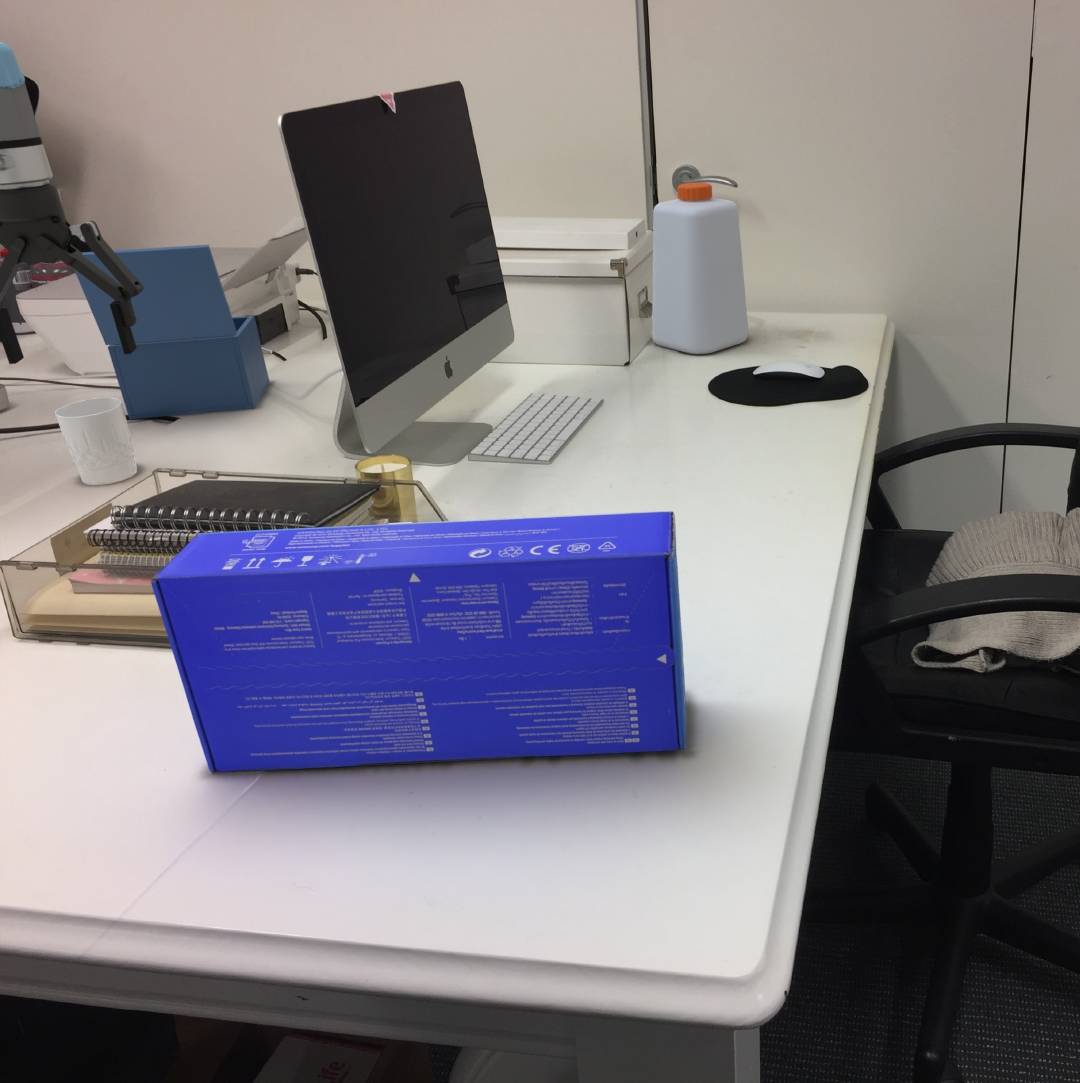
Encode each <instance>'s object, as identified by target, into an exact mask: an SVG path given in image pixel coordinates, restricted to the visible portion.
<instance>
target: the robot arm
mask: <svg viewBox="0 0 1080 1083" xmlns="http://www.w3.org/2000/svg"><path fill="white" fill-rule="evenodd" d="M53 177H54V174H53V171H52V167H51V165H50V162H49V159H48V156H47V152H46V150H45V145H44V143H43V140H42V137H41V134H40V130H39V126H38V123H37V120H36V115H35V113H34V109H33V106H32V103H31V99H30V95H29V93H28V89H27V85H26V78H25V76H24V74H23V72H22V70H21V68H20V65H19V63H18V60H17V57H16V54H15V51H14V50H13V49H12V47H11V46H10V45H8V44H7V43H5V42H0V245H1V246H2V247H3V248H5V250H7V252H6V254H5V256H4V258H3V260H2V263H1V266H0V304H1V302H2V300H3V299H4V297H5V295H6V293H7V292H8V289H9V288H10V286H11V284H12V283H13V281H14V279H15V277H16V275H17V273H18V271H19V270H20V268H21V267H22V265H23V264H26V265H27V266H33V265H38V264H42V263H43V264H47V265H48V264H50V265H51V264H56V263H58V262H62V263H63V264H65V265H66V266H69V267H71V268H72V269H73V270H74V269H75V270H76V271H78V272H79V273H80V274H82V275H83V276H84V277H85V278H87V279H88V280H89V281H91V282H92V283H93V284H95V285H96V286H97V287H98V288H100V289H101V290H102V291H104V292H105V293H106V294H108V295H109V296H110V297H112V298H113V299H114V300H115V301H113V302H112V303H111V304H110V308H111V311H112V314H113V318H114V321H115V324H116V328H117V331H118V334H119V338H120V341H121V344H122V348H123V351H124V354H131V353H132V352H133V351H134V350H135V349H137V348H136V344H135V341H134V337H133V334H132V330H131V327H130V326H133V325H135V324H136V317H135V313H134V310H133V306H132V303H131V298H132V297H134V296H137V295H138V294H139V293H141V292H142V291H143V289H144V287H143V285H142V284H141V283H140V282H139V280H138V279H137V278H136V277H135V276H134V275H133V273H132V272H131V271H130V270H129V269H128V267H127V266H126V265H125V264H124V263H123V262H122V260H121V259H120V258H119V257H118V256H117V255H116V253H115V252H114V250H113V249H112V247H111V246H110V245H109V243H108V242H106V240H105V239H104V238H103V236H102V233H101V231H100V229H99V227H98V226H99V225H98V224H97V223H96V222H95V221H94V220H87V221H85V222H83V223H79V224H74V225H71V224H70V223H69V222H68V220H67V217H66V214H65V211H64V208H63V204H62V201H61V200H62V199H61V197H60V194H59V191H58V188H57V185H55V184H54V183H53V182H50V180H51V179H53ZM75 236H76V237H77V238H78V239H79V240H80V241H81V242H83V243H85V244H86V245H87V246H88V248H89V249H90V251H91V252H93V253H94V254H95V255H96V256H97V257H98V258H99V260H100V261H101V262H102V263H103V264H104V265H105V267H106V268H107V269H108V270H109V271H110V272H111V273H112V275H113V276H114V277H115V278H116V279H117V280H118V282H119V283H120V284H121V285H120V284H119V283H118V282H117V281H115V280H114V279H113V278H111V277H110V276H109V275H108V274H106V273H105V272H104V271H102V270H101V269H100V268H99V267H97V266H96V265H95V264H93V263H92V262H91V261H90V260H88V259H87V258H86V257H84V256H83V254H82V253H83V252H82V251H80V250H79V249H78V248H76V247H75V246H74V245H72V241H73V239H74V237H75ZM75 270H74V271H75ZM0 341H1V344H2V347H3V350H4V353H5V356H6V359H7V361H8V364H9V365H16V364H18V363H19V362H20V361H22V360H23V359H24V358H25V357H24V353H23V351H22V347H21V345H20V342H19V338H18V336H17V333H16V331H15V328H14V324H13V322H12V318H11V315H10V312H9V309H8V308H7V307H0Z"/></svg>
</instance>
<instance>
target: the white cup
mask: <svg viewBox="0 0 1080 1083" xmlns="http://www.w3.org/2000/svg"><path fill="white" fill-rule="evenodd" d="M54 416H55V418H56V422H57V424H58V426H59V428H60V431H61V434H62V437H63V439H64V442H65V444H66V447H67V449H68V451H69V453H70V457H71V459H72V461H73V463H74V464H75V466H76V468H77V471H78V474H79V477H80V479H81V482H82V483H84V484H85V485H89V486H102V485H110V484H115V483H119V482H123V481H125V480H128V479H129V478H130V479H131V478H132V477H133V476H135V475H136V474H137V473H138V466H137V463H136V458H135V455H134V454H135V450H134V447H133V442H132V437H131V433H130V429H129V424H128V420H127V417H126V413H125V409H124V405H123V400H121V399H119V398H118V397H117V398H116V397H107V396H105V397H104V396H103V397H93V398H87V399H86V398H85V399H82V400H81V399H80V400H77V401H73V402H70V403H66V404H64V405H62V406H60V407H59V408H57V409H56V410H55V411H54Z"/></svg>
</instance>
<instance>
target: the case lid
mask: <svg viewBox="0 0 1080 1083" xmlns="http://www.w3.org/2000/svg"><path fill="white" fill-rule="evenodd" d="M113 251H114V252H115V253H116V255H117V256H118V257H119V258H120V259H121V260H122V262H123V263H124V264H125V265H126V266H127V267H128V269H129V270H130V271H131V272H132V273H133V275H134V276H135V277H136V278H137V279H138V280H139V282H140V283H141V284H142V285H143V287H144V289H143V291H142V292H141V293H139V294H138V295H137V296H134V297H132V298H131V303H132V306H133V310H134V313H135V317H136V324H135V325H133V326H130V327H131V330H132V334H133V337H134V341H135V343H141V342H154V341H167V340H180V339H193V338H206V337H219V336H232V335H236V334H237V331H236V328H235V325H234V322H233V319H232V317H233V315H232V312H231V309H230V306H229V303H228V300H227V297H226V294H225V290H224V288H223V286H222V282H221V278H220V276H219V272H218V269H217V266H216V262H215V260H214V257H213V254H212V251H211V248H210V244H197V245H196V244H195V245H181V246H180V245H178V246H166V247H165V246H162V247H148V248H132V249H131V248H130V249H117V250H116V249H115V250H113ZM81 253H82V254H83V256H84V257H86V258H87V259H88V260H90V261H91V262H92V263H93V264H95V265H96V266H97V267H99V268H100V269H101V270H102V271H104V272H105V273H106V274H108V275H109V276H110V277H111V278H113V279H114V280H115V281H117V282H118V280H117V279H116V278H115V277H114V276H113V275H112V273H111V272H110V271H109V270H108V269H107V268H106V267H105V265H104V264H103V263H102V262H101V261H100V260H99V258H98V257H97V256H96V255H95V254H94V253H93V251H86V252H84V251H83V252H81ZM73 270H74V272H75V275H76V277H77V280H78V283H79V285H80V287H81V289H82V292H83V294H84V297H85V299H86V301H87V303H88V306H89V308H90V311H91V313H92V315H93V318H94V320H95V323H96V325H97V328H98V330H99V333H100V335H101V337H102V339H103V342H104V344H105V346H110V345H116V344H121V341H120V338H119V334H118V331H117V328H116V324H115V321H114V318H113V314H112V311H111V308H110V304H111V303H112V302H113V301H115V300H114V299H113V298H112V297H110V296H109V295H108V294H106V293H105V292H104V291H102V290H101V289H100V288H98V287H97V286H96V285H95V284H93V283H92V282H91V281H89V280H88V279H87V278H85V277H84V276H83V275H82V274H80V273H79V272H78V271H76V270H75V269H74V268H73ZM118 283H119V282H118ZM119 284H120V283H119ZM120 285H121V284H120Z"/></svg>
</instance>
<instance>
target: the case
mask: <svg viewBox="0 0 1080 1083" xmlns="http://www.w3.org/2000/svg"><path fill="white" fill-rule="evenodd" d="M232 319H233V322H234V325H235V328H236V331H237V334H236V335H232V336H219V337H206V338H193V339H180V340H167V341H154V342H141V343H135V344H136V348H137V349H135V350H134V351H133V352H132V353H131V354H124V351H123V348H122V344H116V345H107V350H108V353H109V357H110V360H111V363H112V366H113V370H114V373H115V376H116V379H117V384H118V386H119V390H120V393H121V396H122V401H123V403H124V405H125V409H126V412H127V416H128V420H140V419H151V418H162V417H163V418H165V417H173V416H185V415H197V414H208V413H219V412H231V411H242V410H243V411H244V410H253V409H256V407H257V405H258V403H259V402H260V401H261V398H262V397H263V395H264V394H265V392H266V390H267V388H268V386H270V383H271V382H270V378H269V374H268V369H267V365H266V360H265V356H264V352H263V347H262V343H261V339H260V334H259V330H258V326H257V320H256V317H255V315H244V316H242V315H241V316H232Z"/></svg>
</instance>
